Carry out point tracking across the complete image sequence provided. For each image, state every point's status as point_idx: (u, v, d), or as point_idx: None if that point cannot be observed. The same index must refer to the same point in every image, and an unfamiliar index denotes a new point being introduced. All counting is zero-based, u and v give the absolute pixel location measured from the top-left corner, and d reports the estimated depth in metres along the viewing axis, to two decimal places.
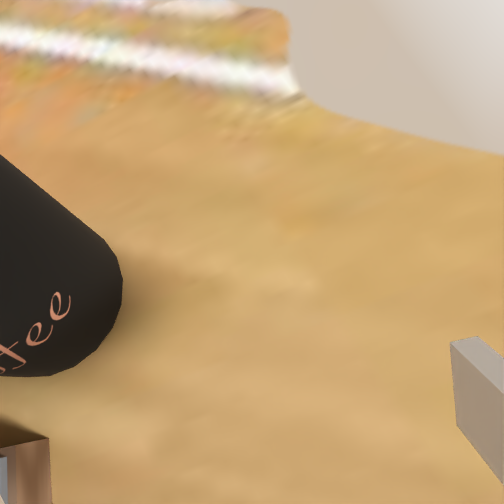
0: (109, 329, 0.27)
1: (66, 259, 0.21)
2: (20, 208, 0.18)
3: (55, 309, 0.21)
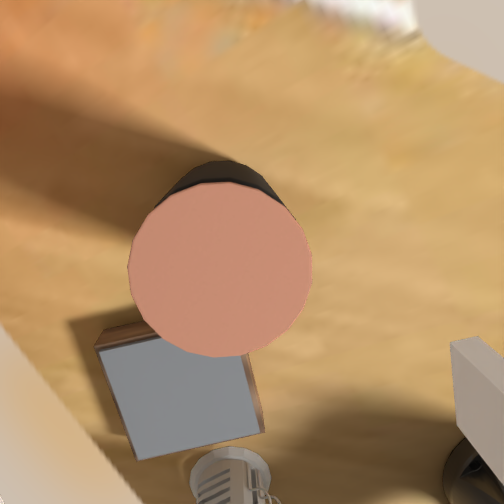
0: None
1: None
2: None
3: None
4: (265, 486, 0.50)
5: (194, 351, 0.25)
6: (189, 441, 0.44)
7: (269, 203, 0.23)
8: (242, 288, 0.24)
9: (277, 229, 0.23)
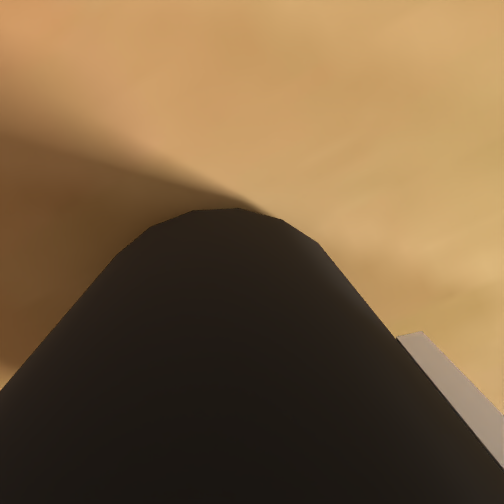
0: None
1: None
2: None
3: None
4: None
5: None
6: None
7: None
8: None
9: None
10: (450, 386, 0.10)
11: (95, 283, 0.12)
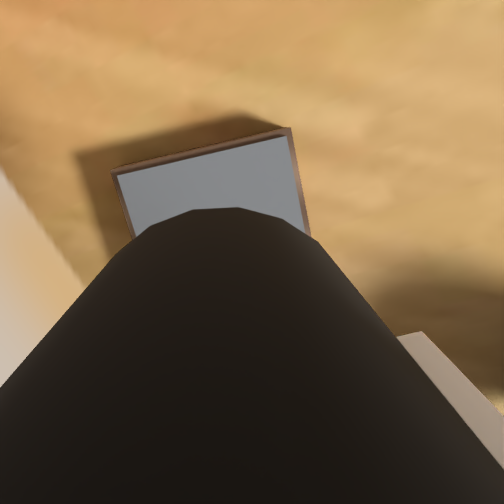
0: None
1: None
2: None
3: None
4: None
5: None
6: None
7: None
8: None
9: None
10: (450, 386, 0.10)
11: (95, 281, 0.12)
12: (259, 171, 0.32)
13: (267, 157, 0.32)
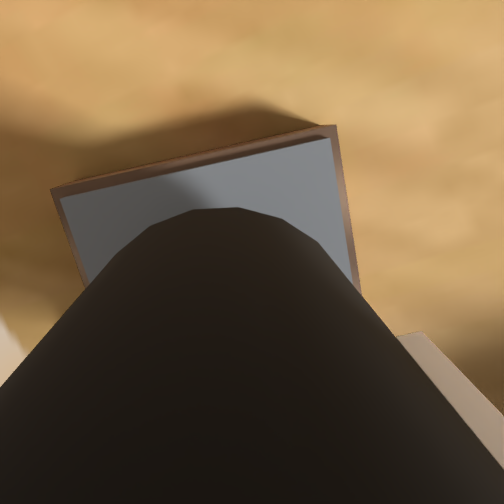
0: None
1: None
2: None
3: None
4: None
5: None
6: None
7: None
8: None
9: None
10: (450, 386, 0.10)
11: (94, 281, 0.12)
12: (285, 192, 0.20)
13: (298, 171, 0.20)
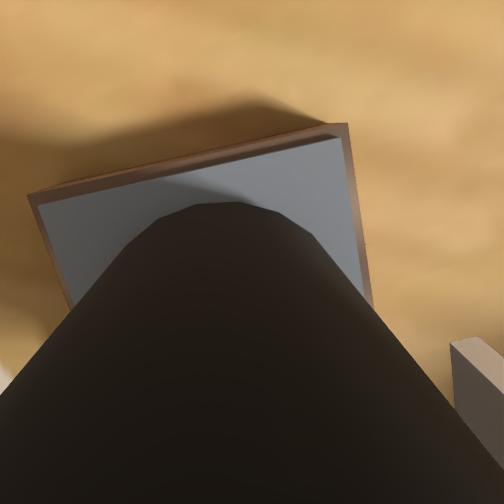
0: None
1: None
2: None
3: None
4: None
5: None
6: None
7: None
8: None
9: None
10: None
11: (110, 267, 0.13)
12: (291, 198, 0.18)
13: (305, 175, 0.18)
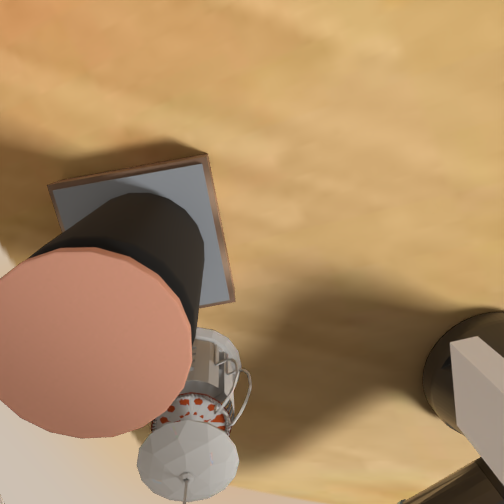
0: None
1: (200, 283, 0.30)
2: (195, 291, 0.26)
3: None
4: (234, 374, 0.47)
5: (58, 431, 0.22)
6: None
7: (138, 275, 0.20)
8: (111, 366, 0.21)
9: (148, 303, 0.20)
10: None
11: None
12: (178, 192, 0.37)
13: (185, 181, 0.37)
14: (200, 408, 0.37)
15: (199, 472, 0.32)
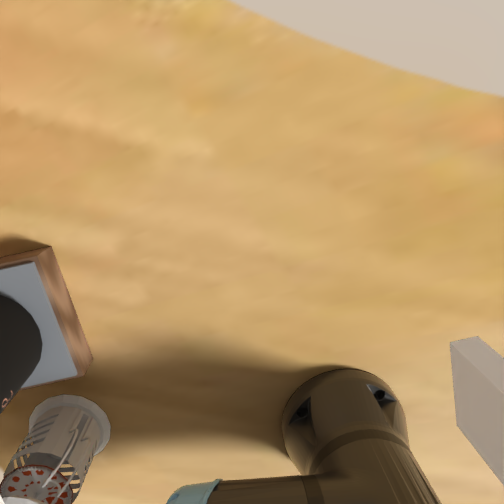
0: (38, 362, 0.43)
1: (2, 382, 0.35)
2: None
3: (5, 404, 0.36)
4: (103, 434, 0.51)
5: None
6: None
7: None
8: None
9: None
10: None
11: None
12: (14, 287, 0.42)
13: (19, 278, 0.42)
14: (42, 477, 0.42)
15: None
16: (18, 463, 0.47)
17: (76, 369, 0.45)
